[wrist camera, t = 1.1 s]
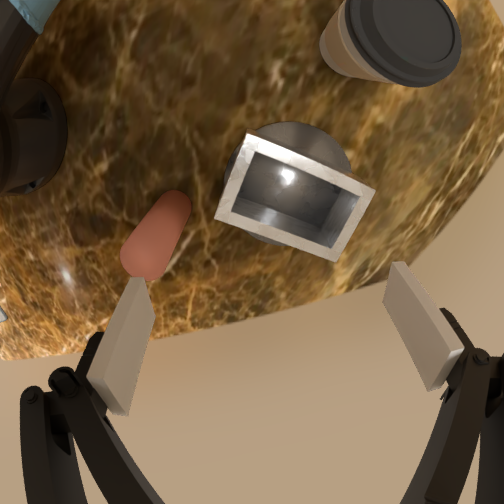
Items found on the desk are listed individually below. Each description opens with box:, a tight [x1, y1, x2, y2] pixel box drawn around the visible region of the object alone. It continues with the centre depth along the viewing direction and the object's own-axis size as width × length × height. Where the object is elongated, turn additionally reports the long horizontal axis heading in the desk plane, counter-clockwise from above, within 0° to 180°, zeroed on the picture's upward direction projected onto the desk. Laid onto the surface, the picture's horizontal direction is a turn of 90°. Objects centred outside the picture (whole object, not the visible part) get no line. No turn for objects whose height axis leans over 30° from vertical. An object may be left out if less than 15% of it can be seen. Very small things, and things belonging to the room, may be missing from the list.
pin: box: [120, 190, 192, 281], centre depth 28 cm, size 4×4×12 cm
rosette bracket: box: [214, 121, 376, 262], centre depth 30 cm, size 14×14×6 cm
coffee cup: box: [319, 0, 461, 87], centre depth 18 cm, size 9×9×15 cm
